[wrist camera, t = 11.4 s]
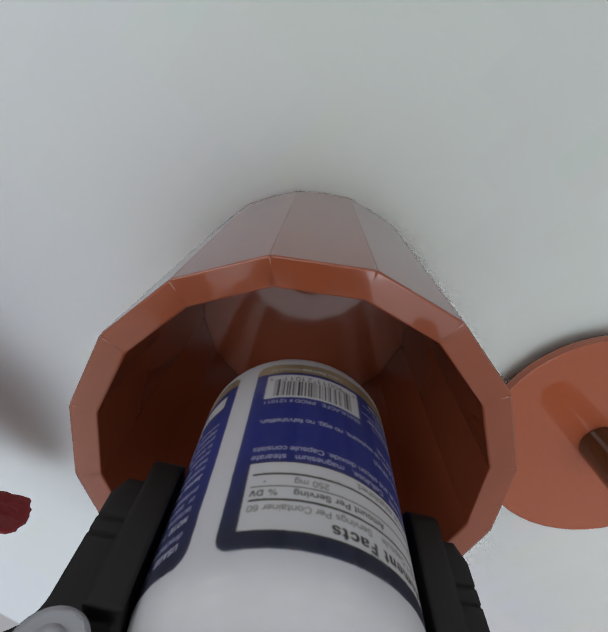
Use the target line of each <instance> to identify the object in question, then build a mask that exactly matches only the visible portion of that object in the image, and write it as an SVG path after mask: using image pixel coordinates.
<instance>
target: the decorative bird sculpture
mask: <svg viewBox="0 0 608 632" xmlns="http://www.w3.org/2000/svg"><path fill="white" fill-rule="evenodd" d="M30 503H31V500H30V498H27V497H24V496H21V495H15V494H11V493H9V492H5V491H0V533H1V534H8V533H12V532H15V531H16V530H17V529H18V528H19V527H21V526H22V525H24V524H26V522H27V520H28V518H29V513H30V512H31V510H32V509H31V508H30Z"/></svg>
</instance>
